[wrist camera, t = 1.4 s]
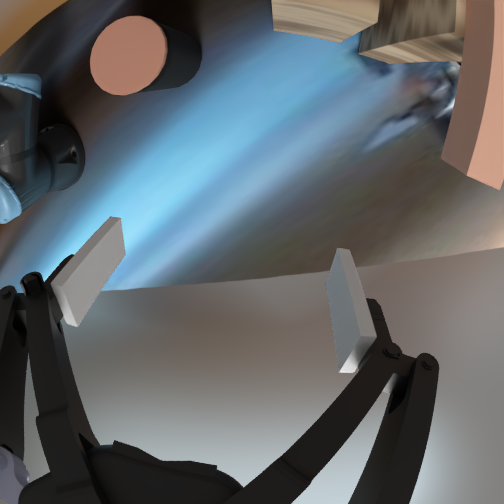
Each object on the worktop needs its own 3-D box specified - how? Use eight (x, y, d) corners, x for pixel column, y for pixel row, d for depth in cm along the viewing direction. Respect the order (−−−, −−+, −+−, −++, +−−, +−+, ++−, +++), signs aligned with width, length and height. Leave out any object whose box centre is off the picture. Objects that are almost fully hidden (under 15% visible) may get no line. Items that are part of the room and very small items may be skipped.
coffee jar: (183, 22, 36) (139, -1, 21) (215, 65, 41) (182, 58, 26) (136, 57, 40) (77, 55, 25) (165, 99, 45) (115, 112, 30)
